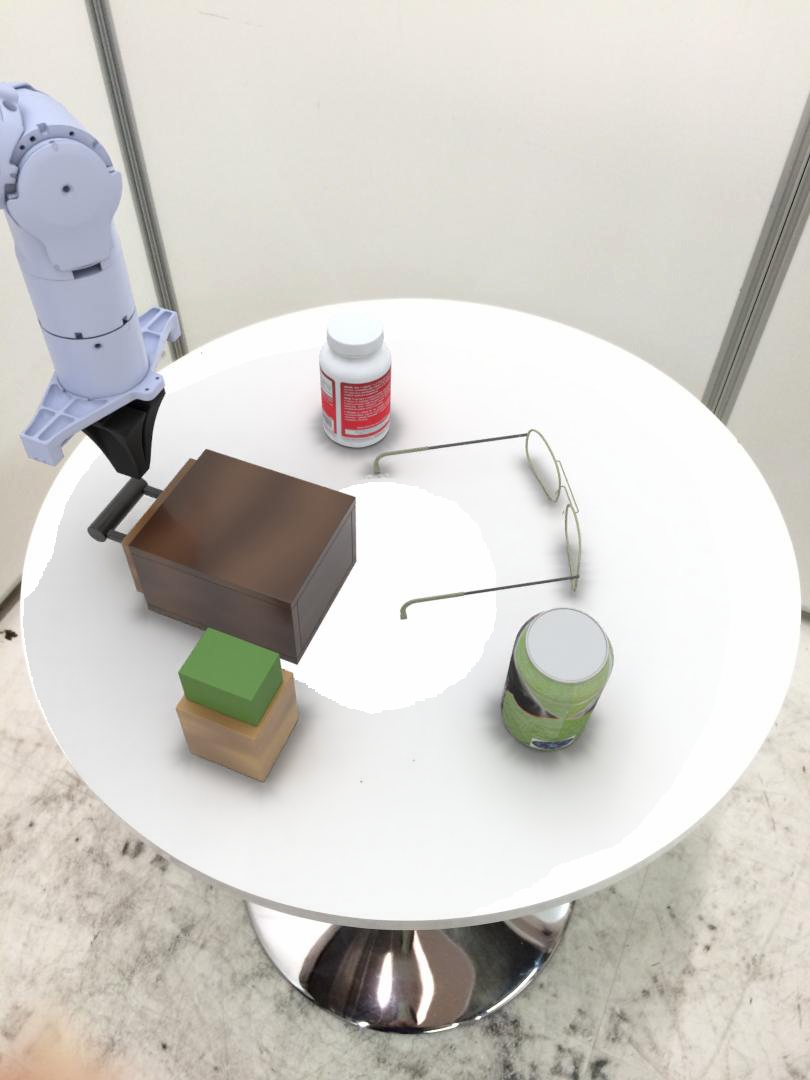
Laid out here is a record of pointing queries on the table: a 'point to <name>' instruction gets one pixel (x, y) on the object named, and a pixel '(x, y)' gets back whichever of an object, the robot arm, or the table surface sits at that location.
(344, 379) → the pill bottle
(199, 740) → the wooden block
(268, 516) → the cabinet
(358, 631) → the table surface
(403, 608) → the eyeglasses
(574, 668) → the beverage can
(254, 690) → the matte green cuboid
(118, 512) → the drawer
